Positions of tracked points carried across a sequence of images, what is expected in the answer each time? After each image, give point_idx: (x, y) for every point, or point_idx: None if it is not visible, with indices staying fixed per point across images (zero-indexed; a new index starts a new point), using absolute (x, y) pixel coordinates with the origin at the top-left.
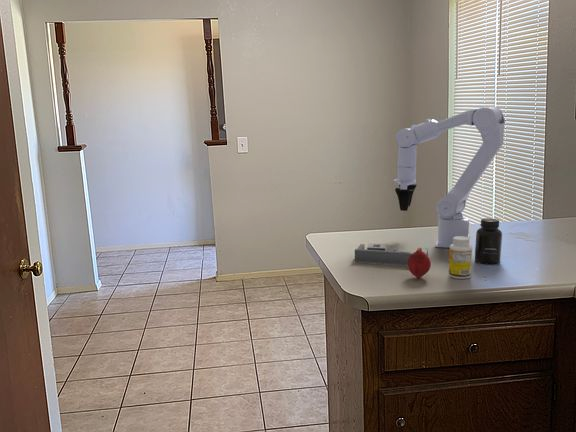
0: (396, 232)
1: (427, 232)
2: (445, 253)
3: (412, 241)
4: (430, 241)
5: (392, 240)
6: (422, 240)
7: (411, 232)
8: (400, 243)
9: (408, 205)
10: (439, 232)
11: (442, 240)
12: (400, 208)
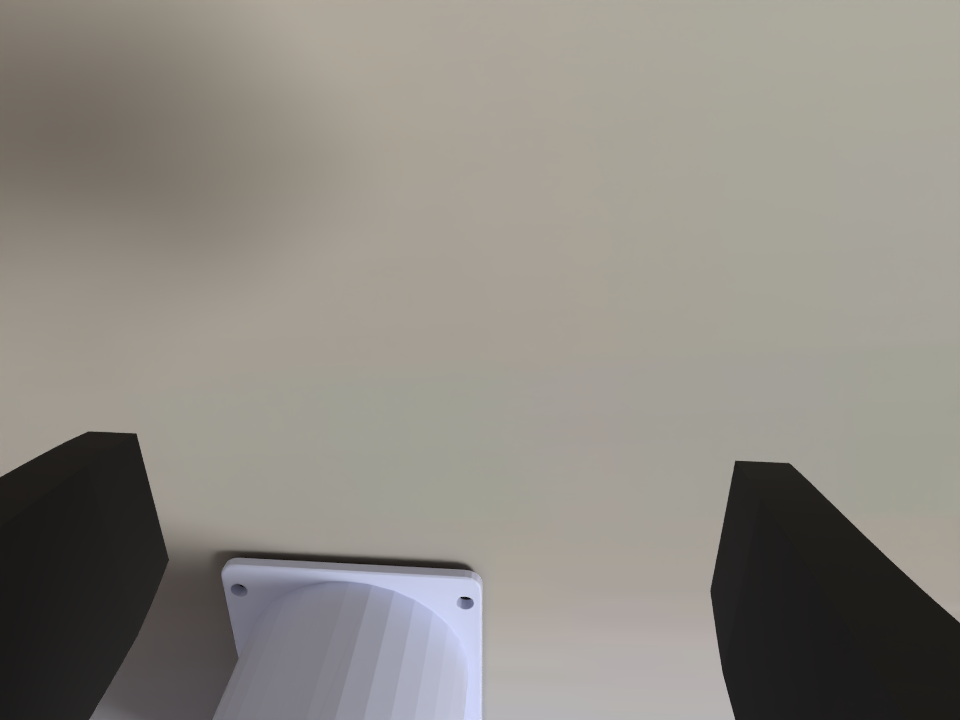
0: (942, 68)
1: (933, 473)
2: None
3: (413, 336)
4: (468, 509)
5: (392, 76)
6: (494, 435)
7: (937, 289)
8: (263, 205)
9: (75, 688)
10: (250, 694)
11: (244, 652)
12: (46, 461)
